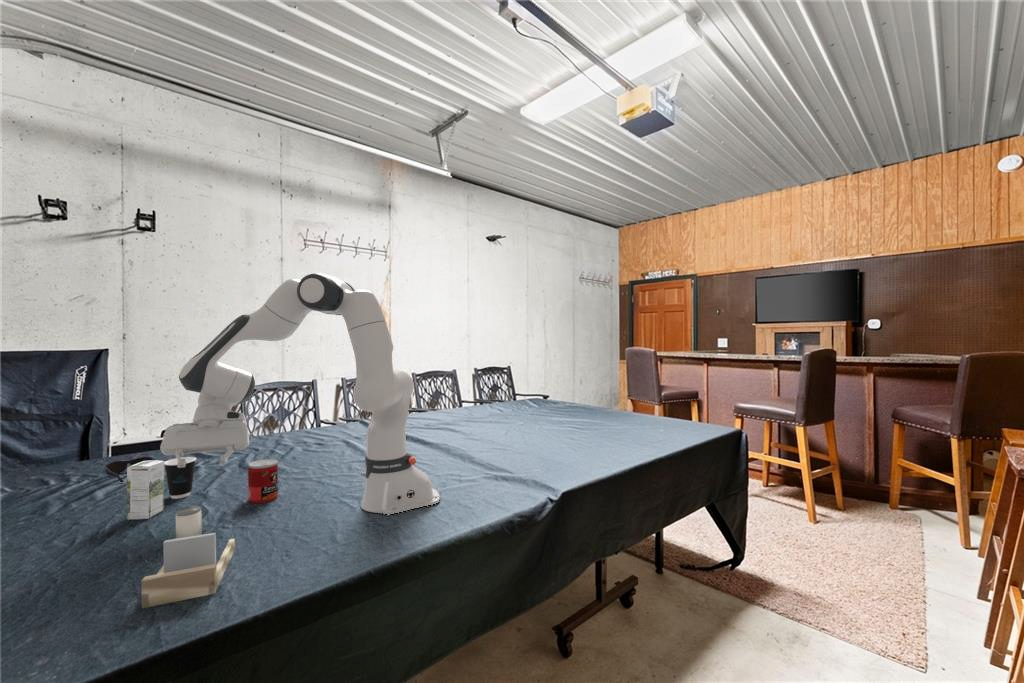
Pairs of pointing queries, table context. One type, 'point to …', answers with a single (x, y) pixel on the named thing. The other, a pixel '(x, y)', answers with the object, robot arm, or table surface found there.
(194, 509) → the jar
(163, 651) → the table surface
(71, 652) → the table surface
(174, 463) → the dixie cup
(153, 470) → the syrup box
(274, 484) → the canned food
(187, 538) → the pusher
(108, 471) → the sunglasses
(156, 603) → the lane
